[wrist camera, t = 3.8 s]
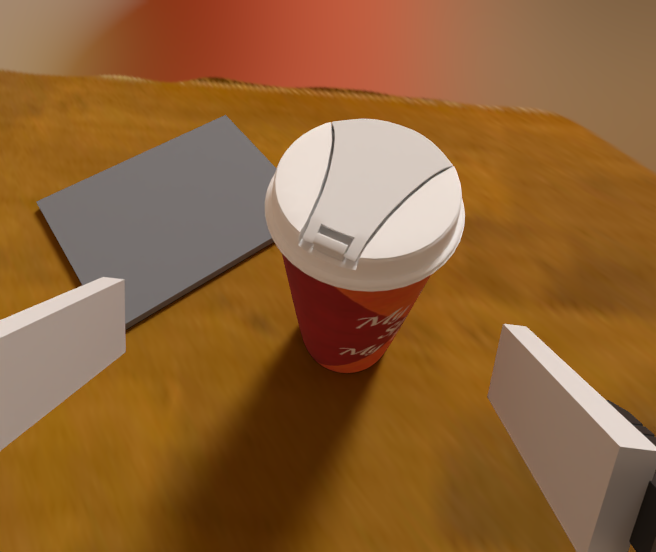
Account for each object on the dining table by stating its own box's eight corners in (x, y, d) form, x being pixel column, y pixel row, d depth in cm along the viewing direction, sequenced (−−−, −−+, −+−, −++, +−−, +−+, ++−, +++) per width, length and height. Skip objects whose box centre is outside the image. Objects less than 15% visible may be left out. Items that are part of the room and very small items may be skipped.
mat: (226, 120, 37) (225, 114, 37) (316, 216, 32) (316, 211, 32) (40, 207, 32) (36, 201, 32) (113, 337, 27) (109, 333, 26)
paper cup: (377, 414, 25) (433, 309, 13) (263, 356, 27) (218, 216, 14) (423, 306, 29) (501, 145, 16) (320, 261, 30) (322, 84, 18)
